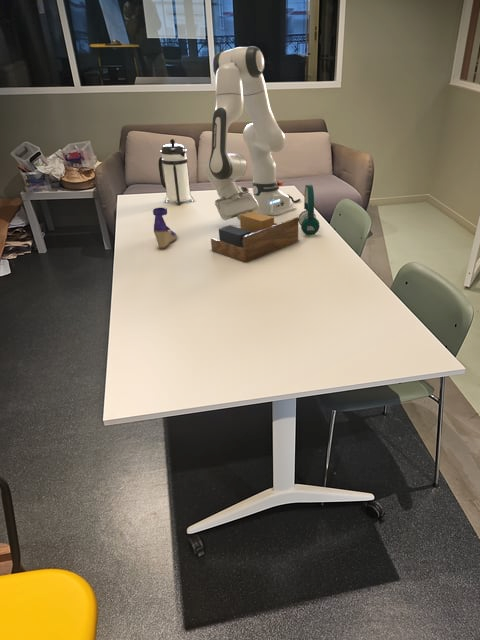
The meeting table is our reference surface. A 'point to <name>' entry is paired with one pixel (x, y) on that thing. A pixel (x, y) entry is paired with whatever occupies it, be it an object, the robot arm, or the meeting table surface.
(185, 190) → the coffee press
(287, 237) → the wooden corner tray
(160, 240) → the purple and beige piece
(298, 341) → the meeting table surface
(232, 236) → the dark grey block
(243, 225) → the tan stepped block
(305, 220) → the headphones
